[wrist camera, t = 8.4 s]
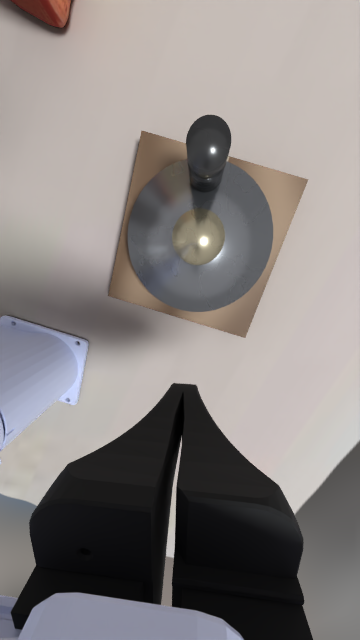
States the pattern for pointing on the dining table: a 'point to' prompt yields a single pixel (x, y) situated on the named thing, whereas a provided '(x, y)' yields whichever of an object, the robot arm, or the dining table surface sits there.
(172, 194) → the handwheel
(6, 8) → the dining table surface
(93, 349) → the dining table surface
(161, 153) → the walnut base
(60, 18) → the snack package
